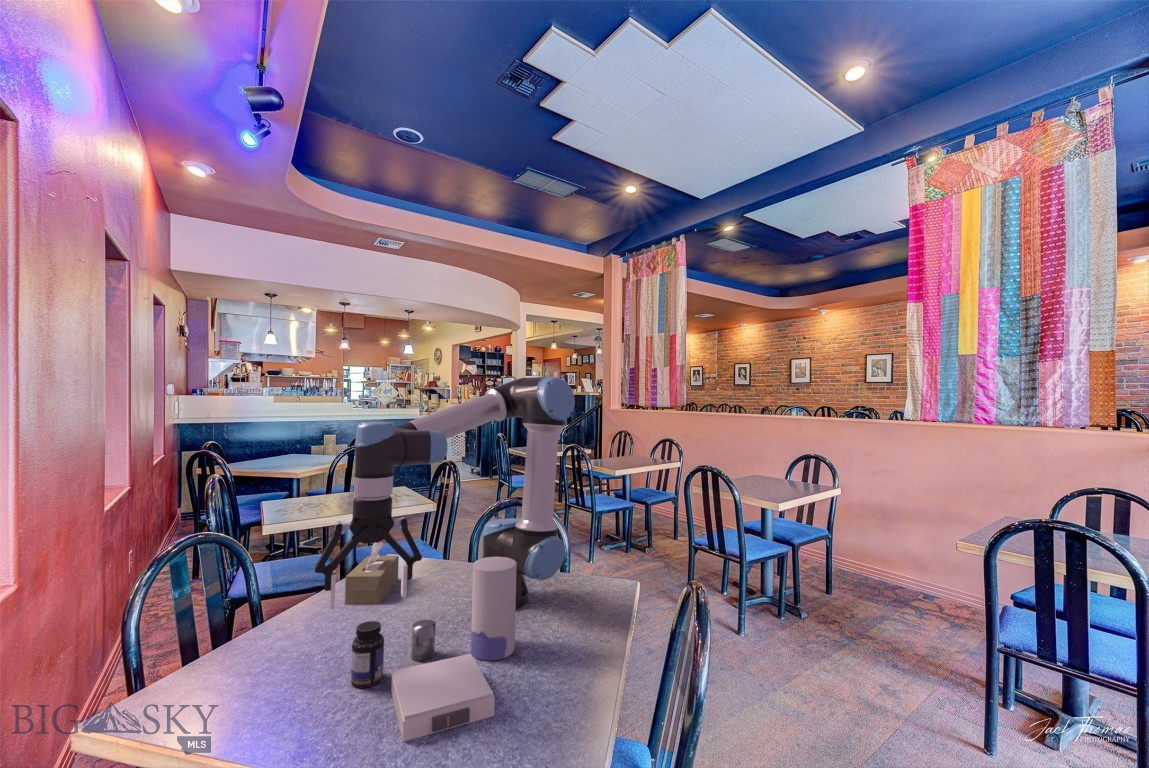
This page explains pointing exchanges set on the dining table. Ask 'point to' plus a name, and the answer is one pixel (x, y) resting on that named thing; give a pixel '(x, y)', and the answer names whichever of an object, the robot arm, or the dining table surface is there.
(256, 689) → the dining table surface
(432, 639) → the cylinder
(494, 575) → the container
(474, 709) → the scale
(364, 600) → the tissue box
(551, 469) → the robot arm
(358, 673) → the pill bottle
